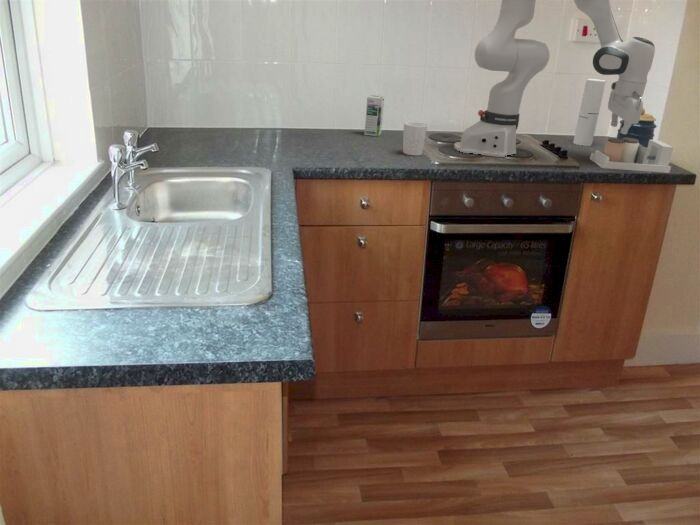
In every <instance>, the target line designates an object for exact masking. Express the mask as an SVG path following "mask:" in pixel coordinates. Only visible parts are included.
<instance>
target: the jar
mask: <svg viewBox="0 0 700 525" xmlns="http://www.w3.org/2000/svg"><path fill="white" fill-rule="evenodd" d="M624 145H625V142H624V139H621V138H617V136H609V137H608V139H607V140H606V141H605V145H604V150H603V154H605V155H606V156H608V157H609V161H610V162H620V161H621V157H622V153H623V149H624Z"/></svg>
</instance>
